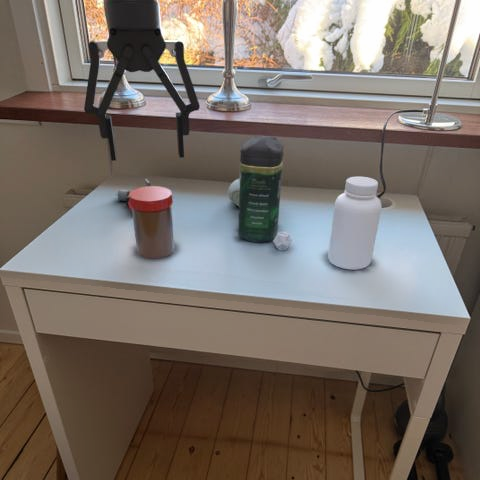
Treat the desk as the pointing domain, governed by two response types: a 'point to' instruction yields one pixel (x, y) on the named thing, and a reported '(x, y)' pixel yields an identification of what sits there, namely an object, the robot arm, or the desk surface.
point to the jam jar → (154, 233)
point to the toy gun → (124, 194)
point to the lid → (150, 198)
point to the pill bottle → (355, 224)
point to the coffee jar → (260, 188)
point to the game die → (282, 240)
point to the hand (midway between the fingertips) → (147, 156)
